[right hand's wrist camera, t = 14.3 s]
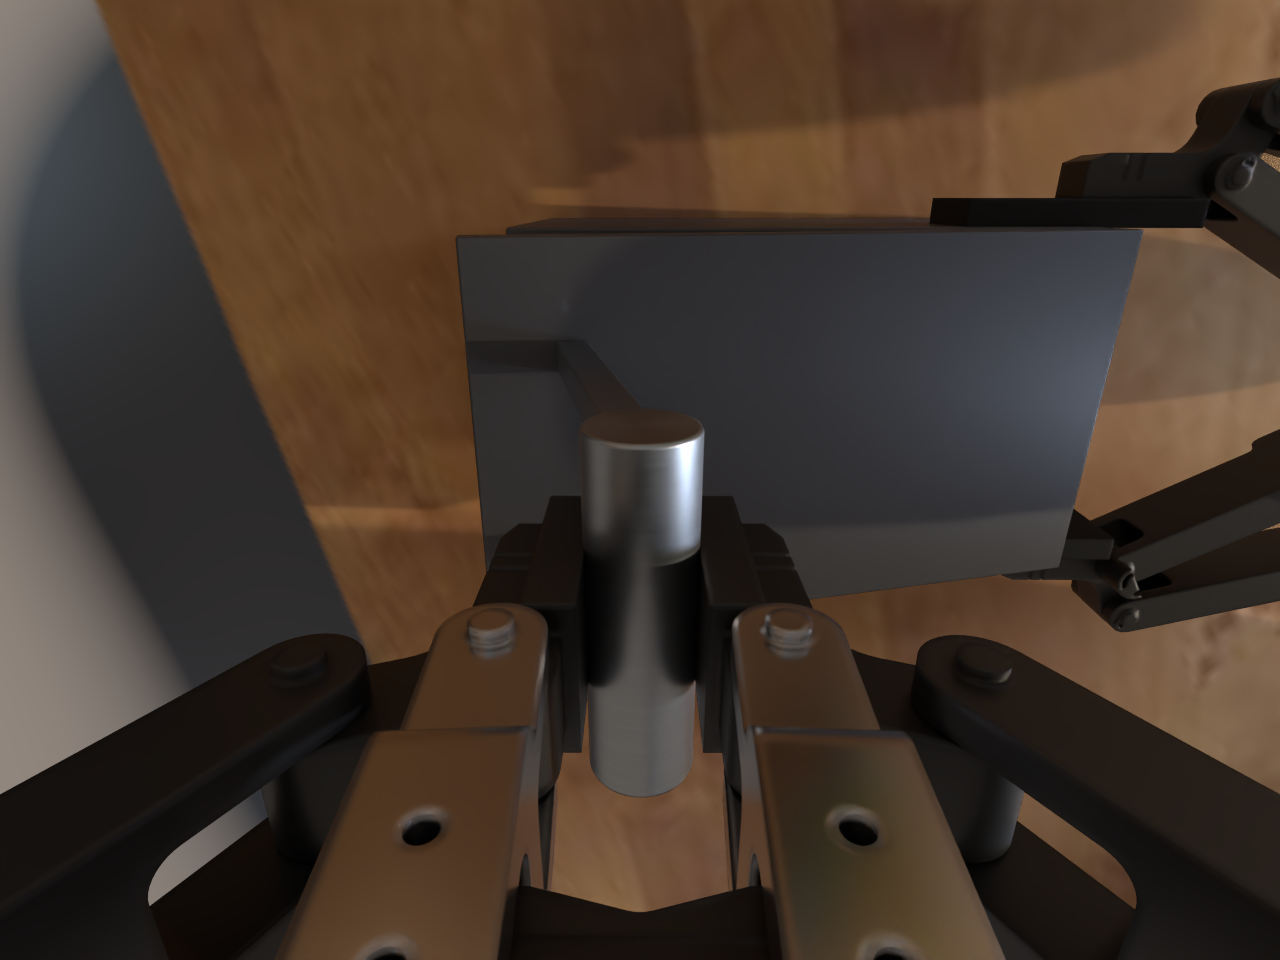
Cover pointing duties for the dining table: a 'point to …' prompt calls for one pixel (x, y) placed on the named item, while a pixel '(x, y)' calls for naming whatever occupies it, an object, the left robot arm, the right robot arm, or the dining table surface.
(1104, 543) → the left robot arm
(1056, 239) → the lid
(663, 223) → the chest
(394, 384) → the dining table surface
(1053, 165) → the dining table surface
